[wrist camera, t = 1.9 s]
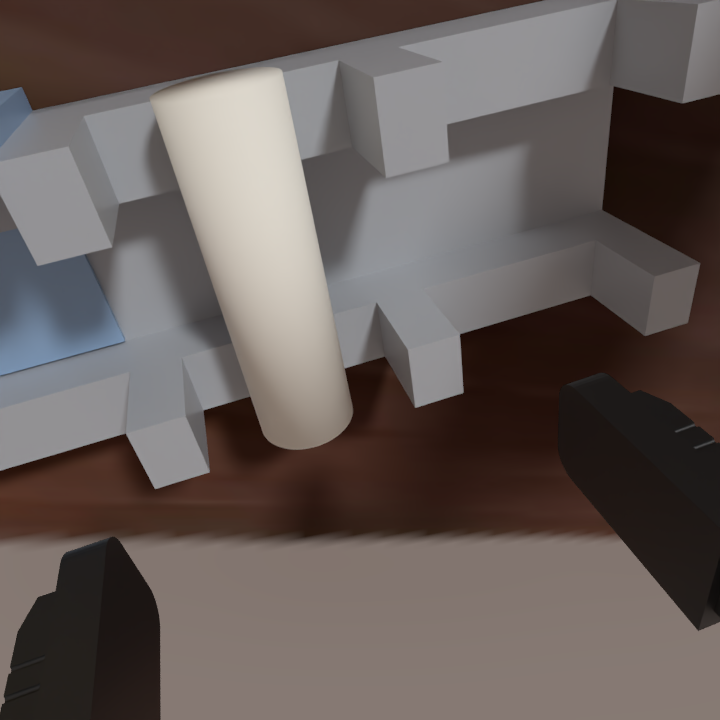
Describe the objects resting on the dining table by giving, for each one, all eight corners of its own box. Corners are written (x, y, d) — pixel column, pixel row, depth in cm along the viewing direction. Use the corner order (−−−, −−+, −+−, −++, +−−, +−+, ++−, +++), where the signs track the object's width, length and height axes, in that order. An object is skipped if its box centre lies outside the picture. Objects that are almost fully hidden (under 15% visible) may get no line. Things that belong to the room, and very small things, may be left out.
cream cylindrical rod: (150, 87, 14) (148, 111, 12) (270, 61, 15) (293, 78, 12) (255, 402, 20) (268, 461, 18) (339, 377, 20) (364, 431, 18)
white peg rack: (-316, 157, 14) (-617, 278, 9) (614, -38, 18) (821, -41, 12) (-78, 448, 20) (-167, 632, 15) (589, 257, 24) (722, 346, 18)
